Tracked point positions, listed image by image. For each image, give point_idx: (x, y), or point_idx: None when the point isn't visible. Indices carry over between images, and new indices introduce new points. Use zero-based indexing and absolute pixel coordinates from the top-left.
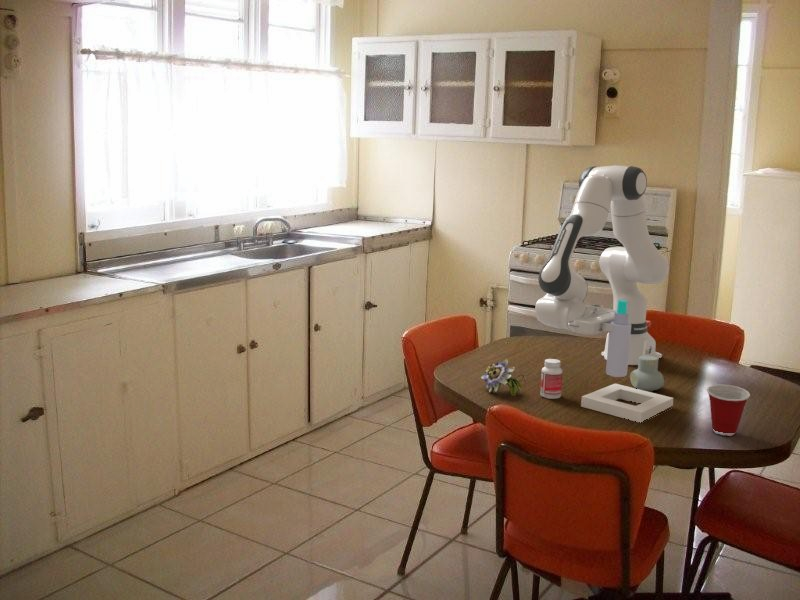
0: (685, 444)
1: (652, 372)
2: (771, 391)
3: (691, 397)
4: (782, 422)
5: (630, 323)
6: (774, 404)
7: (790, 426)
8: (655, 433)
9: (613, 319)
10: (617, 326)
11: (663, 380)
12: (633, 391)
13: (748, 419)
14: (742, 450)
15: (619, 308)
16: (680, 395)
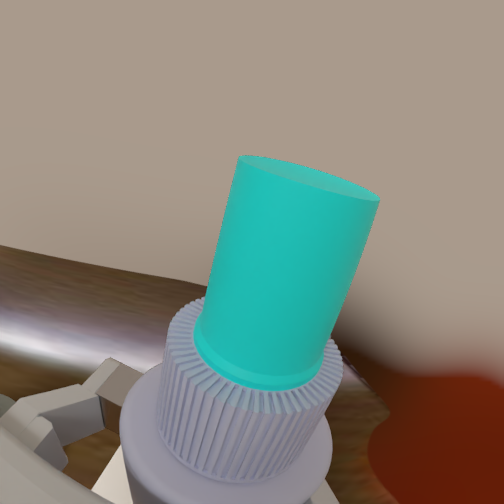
0: (355, 389)
1: (3, 414)
2: (14, 264)
3: (52, 370)
4: (160, 284)
5: (116, 360)
6: (74, 275)
7: (174, 281)
8: (345, 434)
9: (90, 490)
10: (329, 437)
11: (13, 400)
12: (129, 496)
13: (164, 314)
14: None
15: (343, 301)
16: (41, 388)
